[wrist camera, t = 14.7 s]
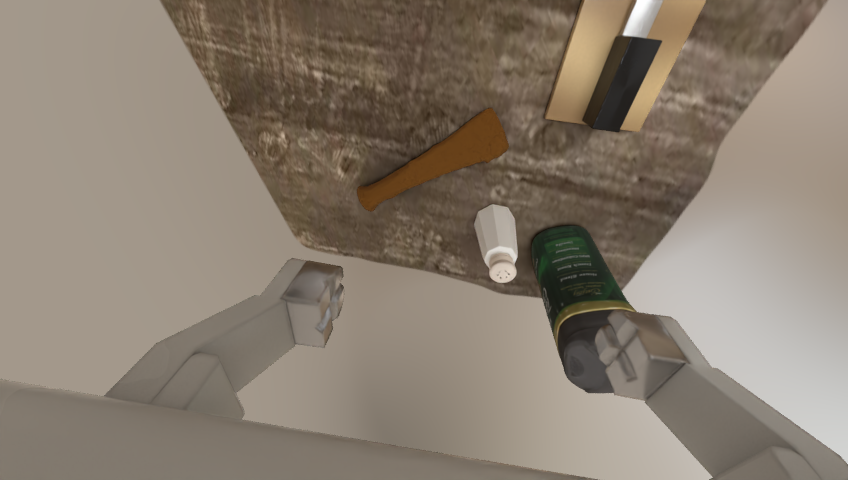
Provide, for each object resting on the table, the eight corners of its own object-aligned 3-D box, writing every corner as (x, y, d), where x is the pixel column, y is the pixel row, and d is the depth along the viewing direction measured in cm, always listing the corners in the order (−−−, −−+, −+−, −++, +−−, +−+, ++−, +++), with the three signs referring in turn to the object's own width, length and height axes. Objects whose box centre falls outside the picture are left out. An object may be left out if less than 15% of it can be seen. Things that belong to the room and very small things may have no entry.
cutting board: (639, -178, 21) (645, -185, 21) (782, -161, 21) (792, -168, 20) (543, 117, 33) (545, 119, 32) (635, 130, 32) (638, 132, 32)
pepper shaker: (513, 200, 39) (529, 250, 30) (515, 235, 41) (530, 290, 32) (471, 206, 40) (474, 256, 31) (476, 239, 43) (480, 294, 34)
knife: (691, -152, 21) (723, -178, 18) (728, -147, 21) (765, -172, 18) (581, 120, 32) (592, 128, 29) (605, 124, 32) (618, 132, 29)
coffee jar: (526, 229, 41) (564, 345, 26) (589, 217, 39) (671, 336, 24) (532, 281, 46) (568, 404, 31) (588, 273, 44) (656, 400, 29)
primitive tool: (491, 104, 32) (494, 112, 30) (511, 148, 35) (516, 159, 32) (356, 184, 40) (348, 196, 37) (380, 215, 42) (374, 229, 39)
